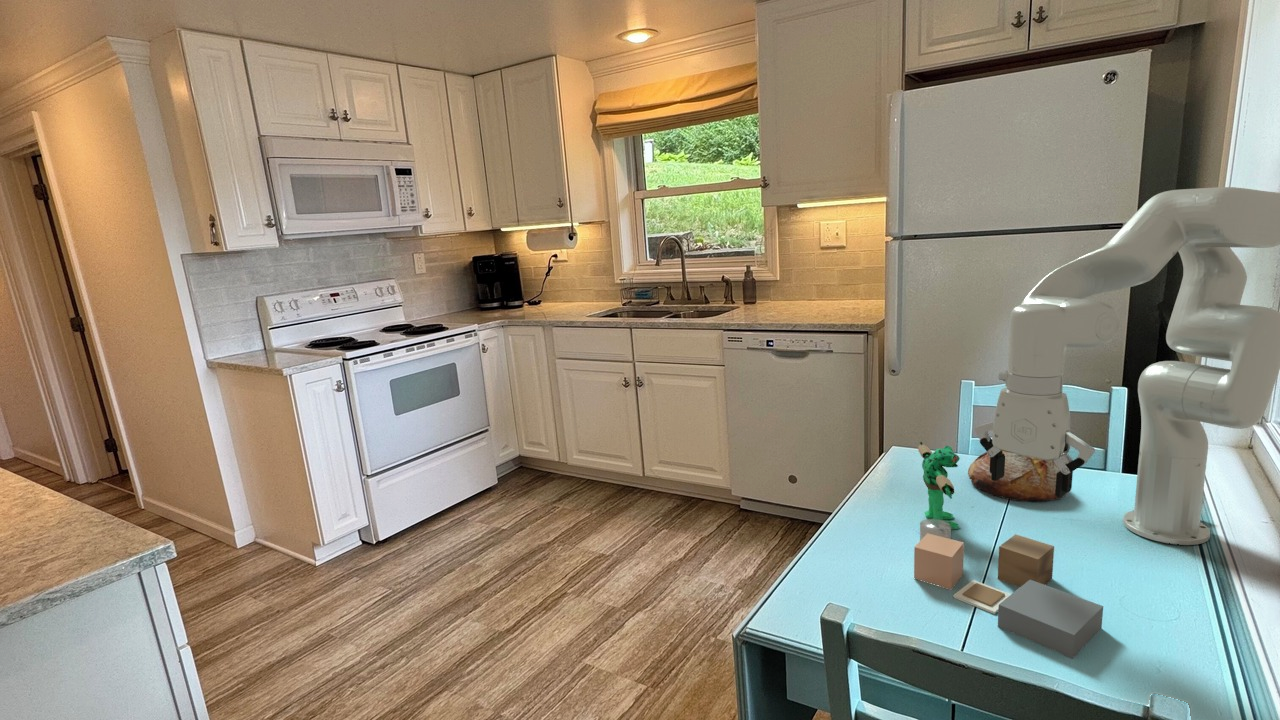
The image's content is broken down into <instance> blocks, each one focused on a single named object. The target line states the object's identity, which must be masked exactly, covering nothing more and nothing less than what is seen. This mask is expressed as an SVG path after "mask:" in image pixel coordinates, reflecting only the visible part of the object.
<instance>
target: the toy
mask: <svg viewBox="0 0 1280 720" xmlns="http://www.w3.org/2000/svg"><path fill="white" fill-rule="evenodd" d="M917 450H918V452H919V454H920V456H921V458H923V460H922V463H921V467H922V470H923V476H922V479H923V482H924V484H925V486H926V488H927V495H928V510H927V511H925V512H924V514H925V517H926V519H938V520H942V521H945V522H947V523H949V524H950V526H951V530H961V527H960V526H959V524H958V523H956V522H954V521H950V520H955V517H954V516H953V515H954V514H952V513H950V512H948V511H944V509H943V507H944V503H945V500H944V495H945V496H947V497H948V498H949V499H950V500H951V499H952V498H953V495H954V494H955V487H954V485H953V483H952V481H951V480H950V479H949V478H948V471H947V470H946V468H958V467H959V464H957V463H958V462H959V461H960V460H961V458H960V456H959V455H957V454H956V452H954V450H953V448H952V447H951V446H950V445H945V446H944V447H943V448H936V449H935V450H934V452H932V450H931V449H930V448H929V447H928V445H927V446H926V445H925V444H923V442H922V441H920V442H919V446H917ZM944 467H945V468H944Z"/></svg>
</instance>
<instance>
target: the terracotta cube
mask: <svg viewBox="0 0 1280 720" xmlns="http://www.w3.org/2000/svg"><path fill="white" fill-rule="evenodd" d="M913 548H914V551H913V553H914V554H913V555H914V557H913V558H914V560H913V569H914V570H913V579H914V578H915V579H914V580H916V579H919V580H922V581H925V582H924V583H926V582H928V583H927V584H929V583H932V584H935V585H939V586H941V587H940V588H942V587H944V588H943V589H945V588H948V589H947V590H949V589H952V590H953V588H954V587H955V586H956V585H957V583H958V582H959V580H960V579H961V578H962V577H963V576H964V553H965V543H964V541H960V540H955V539H952V538H950V539H948V538H944V537H940V536H936V535H932V534H928V533H927V534H926V535H925V536H924V537H923V538H922V540H921V541H920V540H919V541H918V543H917V544H916V545H915V546H914V547H913ZM919 580H918V581H919ZM922 581H921V582H922ZM957 581H958V582H957ZM932 584H931V585H932ZM935 585H934V586H935ZM954 585H955V586H954ZM939 586H938V587H939Z"/></svg>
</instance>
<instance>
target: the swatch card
mask: <svg viewBox="0 0 1280 720" xmlns="http://www.w3.org/2000/svg"><path fill="white" fill-rule="evenodd" d="M1011 594H1012V593H1009V592H1007V591H1003V590H1001V589H999V588H996V587H993V586H990V585H988V584H985V583H982V582H980V581H977V580H975V579H973V580H971V581H970V582H968V583H967V584H966V585H964V586H963V587H962V588H960V589H959V590H958V591H956V593H954V594H953V595H952V597H954V599H956V600H959V601H961V602H963V603H966V604H968V605H971V606H973V607H975V608H977V609H981V610H983V611H986V612H988V613H991V614H993V615H996V614H997V613H998V609H999V604H1000V603H1001V602H1002V601H1004V600H1005V599H1006V598H1007V597H1009V596H1010V595H1011Z"/></svg>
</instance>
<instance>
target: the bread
mask: <svg viewBox="0 0 1280 720" xmlns="http://www.w3.org/2000/svg"><path fill="white" fill-rule="evenodd" d="M1002 453H1003V454H1004V455H1005V473H1004V477H1002V478H1000V479H999V480H997V481H993V480H991V475H992V473H990V457H989V456H988V455H987V451H985V452H984V453H982V454H981V455H979V456H978V457H977V458H975V459H974V461H973V462H972V463H971V464H970V465H969V467H968V469H967V475H968V479H969V480H971V482H972V484H973V485H974V487H976V488H978V489H979V490H980V491H982V492H986V493H988V494H990V495H993V496H994V497H995V496H996V497H999V498H1004V499H1007V500H1011V501H1012V500H1013V501H1018V502H1031V503H1038V502H1039V503H1042V502H1049V501H1054V500H1055V501H1056V500H1059V499H1062V498H1063V497H1065V496H1066V494H1065V495H1064V496H1063V497H1061V498H1059V497H1056V496H1055V489H1056V475H1057V473H1058V472H1060V469H1059V468H1058V467H1057V465H1056V464H1055V463H1054V461H1046V460H1041V459H1036V458H1032V457H1027V456H1022V455H1018V454H1014V453H1009V452H1005V451H1002Z"/></svg>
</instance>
